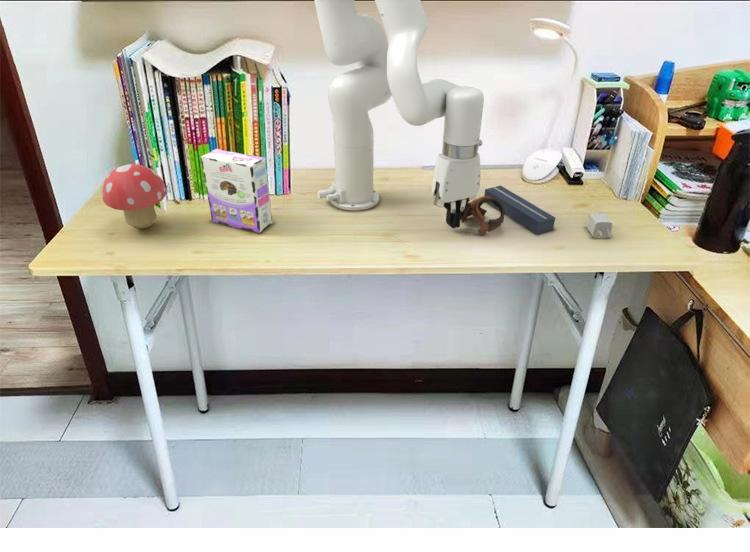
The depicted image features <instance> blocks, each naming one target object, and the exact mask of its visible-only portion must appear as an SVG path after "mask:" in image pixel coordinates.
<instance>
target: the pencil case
mask: <svg viewBox="0 0 750 552" xmlns="http://www.w3.org/2000/svg"><path fill="white" fill-rule="evenodd" d="M484 196H489V197H493V198H495V199H497V200H498V201H500V202H501V203H502V205H503V206H504V209H505V216H507V217H509V218H510V219H512V220H514V221H515V222H517V223H518V224H520V225H521V226H523V227H524V228H526V229H527V230H529V231H530V232H532V233H534V234H535V235H540V234H544V233H547V232H550V231H553V230H554V227H555V223H556V217H555V216H553V215H552V214H550V213H549V212H547V211H545V210H544V209H541V208H540V207H539V206H537V205H535V204H533V203H532V202H530V201H528V200H527V199H525V198H524V197H521V196H519V195H518V194H516V193H514V192H513V191H511V190H509V189H508V188H506V187H504V186H502V185H497V186H493V187H489V188H485V189H484ZM484 196H483V197H484ZM486 204H488V205H490V206H491V207H493V208H495V209H496V210H498V211H499V212H501V211H500V209H499V208H498V207H496V206H495V205H494V204H493V203H492V202H490V201H489V202H487V203H486Z"/></svg>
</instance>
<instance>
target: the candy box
mask: <svg viewBox="0 0 750 552" xmlns="http://www.w3.org/2000/svg"><path fill="white" fill-rule="evenodd" d="M200 161H201V166H202V167H201V168H202V173H203V178H204V183H205V188H206V194H207V201H208V204H209V205H208V206H209V212H210V217H211V222H212V223H217V224H221V225H224V226H229V227H233V228H237V229H241V230H244V231H245V230H246V231H249V232H253V233H257V234H261V232H264V230H265V229H267V228H268V227H270V226H271V225H272V224H273V215H272V214H273V213H272V205H271V196H270V186H269V185H270V184H269V176H268V167H267V159H266V157H262V156H258V155H257V156H256V155H251V154H245V153H241V152H240V153H239V152H235V151H229V150H224V149H220V148H215V149H213V150H211V151H209V152H207V153H205V154H203V155H201V156H200Z"/></svg>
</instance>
